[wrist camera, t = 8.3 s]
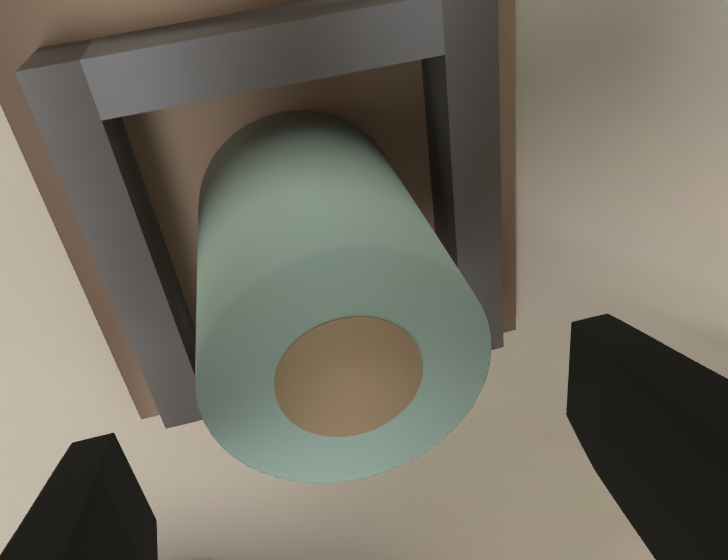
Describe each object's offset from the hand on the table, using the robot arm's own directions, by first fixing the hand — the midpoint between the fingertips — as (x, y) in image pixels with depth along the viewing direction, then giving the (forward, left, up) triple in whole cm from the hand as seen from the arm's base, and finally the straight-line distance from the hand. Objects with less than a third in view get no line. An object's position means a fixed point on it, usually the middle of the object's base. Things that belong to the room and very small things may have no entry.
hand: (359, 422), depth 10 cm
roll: (0, 0, -8) cm, 8 cm away
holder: (0, 0, -9) cm, 9 cm away
